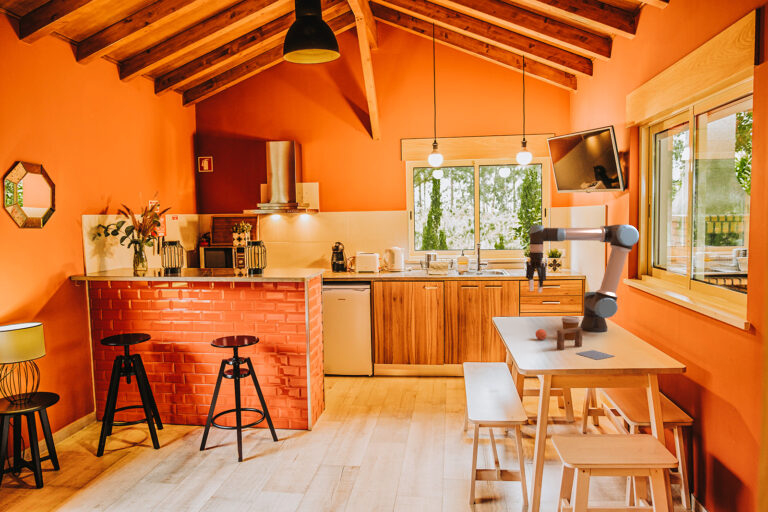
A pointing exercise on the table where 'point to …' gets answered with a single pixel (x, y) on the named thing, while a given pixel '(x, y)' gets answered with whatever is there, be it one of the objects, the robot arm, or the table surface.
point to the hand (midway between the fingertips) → (535, 291)
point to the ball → (541, 334)
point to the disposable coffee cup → (570, 326)
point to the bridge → (561, 332)
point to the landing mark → (595, 354)
